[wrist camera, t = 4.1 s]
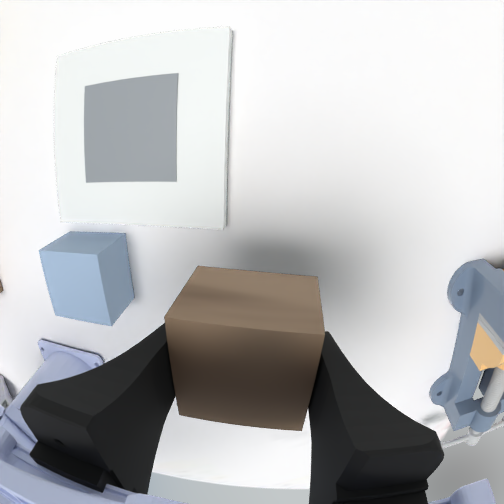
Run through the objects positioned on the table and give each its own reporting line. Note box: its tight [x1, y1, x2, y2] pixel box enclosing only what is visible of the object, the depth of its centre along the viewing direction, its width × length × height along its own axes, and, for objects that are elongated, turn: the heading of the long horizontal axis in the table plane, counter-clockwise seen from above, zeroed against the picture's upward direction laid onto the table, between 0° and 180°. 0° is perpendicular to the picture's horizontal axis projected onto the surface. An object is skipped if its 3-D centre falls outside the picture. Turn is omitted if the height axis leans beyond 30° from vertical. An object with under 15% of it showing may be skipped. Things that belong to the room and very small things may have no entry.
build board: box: [54, 27, 232, 230], centre depth 17 cm, size 12×12×1 cm
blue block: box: [39, 231, 134, 326], centre depth 20 cm, size 5×5×4 cm
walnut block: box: [164, 266, 325, 431], centre depth 12 cm, size 5×5×4 cm
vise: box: [429, 259, 504, 449], centre depth 18 cm, size 18×10×7 cm, turn 11°
